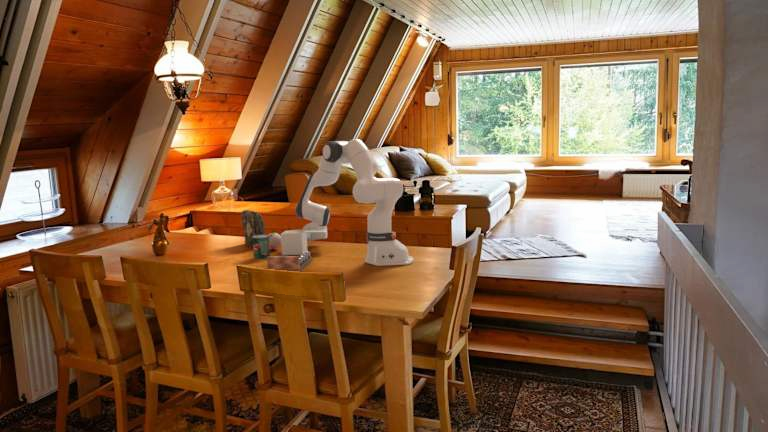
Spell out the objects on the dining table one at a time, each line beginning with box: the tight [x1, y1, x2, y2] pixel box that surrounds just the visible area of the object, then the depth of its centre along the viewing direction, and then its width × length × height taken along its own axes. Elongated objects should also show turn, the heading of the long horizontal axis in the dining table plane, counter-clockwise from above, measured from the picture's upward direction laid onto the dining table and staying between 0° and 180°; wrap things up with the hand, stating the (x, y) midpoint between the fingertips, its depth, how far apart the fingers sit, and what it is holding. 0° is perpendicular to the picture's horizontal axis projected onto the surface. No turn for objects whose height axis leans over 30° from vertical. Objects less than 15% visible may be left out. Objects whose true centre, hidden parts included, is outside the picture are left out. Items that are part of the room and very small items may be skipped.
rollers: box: [281, 251, 312, 265], centre depth 270 cm, size 12×21×3 cm, turn 172°
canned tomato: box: [252, 234, 271, 261], centre depth 287 cm, size 8×8×11 cm
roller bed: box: [266, 255, 314, 272], centre depth 268 cm, size 14×26×7 cm, turn 172°
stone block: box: [240, 209, 266, 249], centre depth 317 cm, size 18×9×20 cm, turn 48°
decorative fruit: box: [268, 231, 282, 251], centre depth 306 cm, size 9×8×10 cm
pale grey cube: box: [280, 229, 309, 256], centre depth 274 cm, size 10×8×10 cm
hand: (303, 237), depth 289 cm, fingers closed
